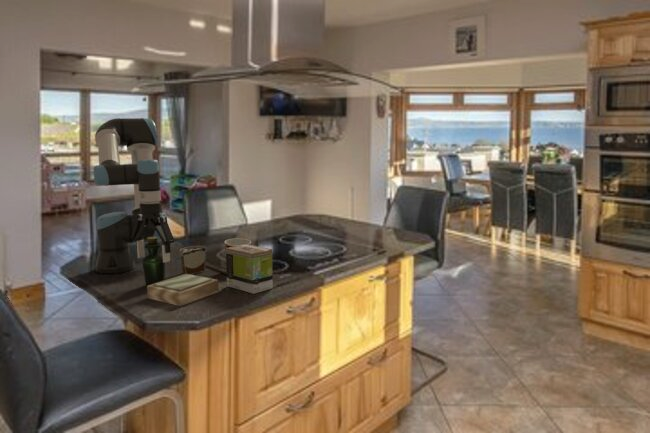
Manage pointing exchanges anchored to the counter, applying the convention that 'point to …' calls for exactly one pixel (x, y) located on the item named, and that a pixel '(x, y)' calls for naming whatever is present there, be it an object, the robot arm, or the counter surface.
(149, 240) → the potion bottle
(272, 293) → the counter surface
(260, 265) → the tea box
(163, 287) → the pedestal base
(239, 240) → the plastic cup
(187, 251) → the food container
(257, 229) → the counter surface
